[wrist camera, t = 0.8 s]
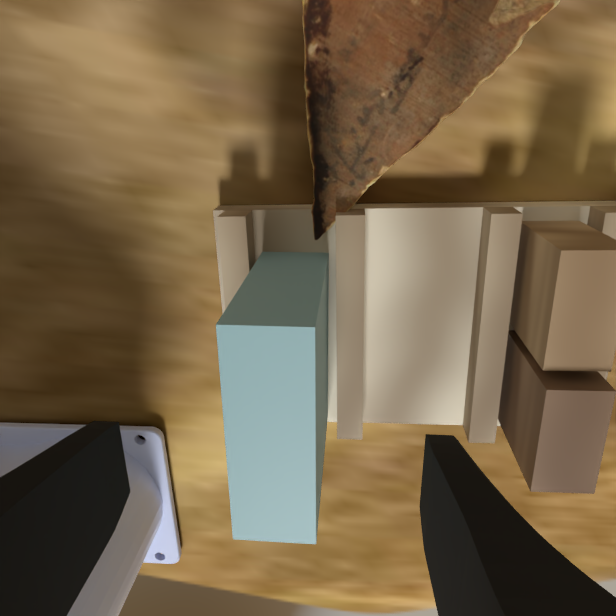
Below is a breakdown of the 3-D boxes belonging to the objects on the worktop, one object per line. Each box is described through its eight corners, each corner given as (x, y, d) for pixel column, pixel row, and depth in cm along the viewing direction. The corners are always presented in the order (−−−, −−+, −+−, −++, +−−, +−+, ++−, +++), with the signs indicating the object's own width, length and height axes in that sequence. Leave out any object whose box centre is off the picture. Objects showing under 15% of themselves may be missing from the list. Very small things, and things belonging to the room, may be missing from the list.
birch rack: (237, 406, 23) (226, 435, 21) (219, 205, 20) (204, 216, 18) (586, 414, 22) (609, 446, 20) (627, 200, 19) (661, 212, 17)
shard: (319, 233, 20) (314, 243, 18) (172, 79, 19) (152, 75, 17) (564, 3, 17) (586, -11, 15) (405, -205, 15) (409, -245, 14)
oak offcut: (507, 320, 20) (542, 370, 16) (519, 220, 18) (561, 250, 15) (562, 320, 20) (610, 371, 16) (578, 220, 18) (635, 250, 14)
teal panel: (268, 411, 22) (233, 539, 16) (262, 251, 20) (215, 324, 13) (327, 413, 22) (316, 544, 15) (328, 252, 19) (314, 327, 13)
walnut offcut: (496, 415, 21) (530, 491, 17) (506, 329, 20) (546, 390, 16) (547, 416, 21) (594, 493, 17) (561, 330, 20) (616, 391, 16)
